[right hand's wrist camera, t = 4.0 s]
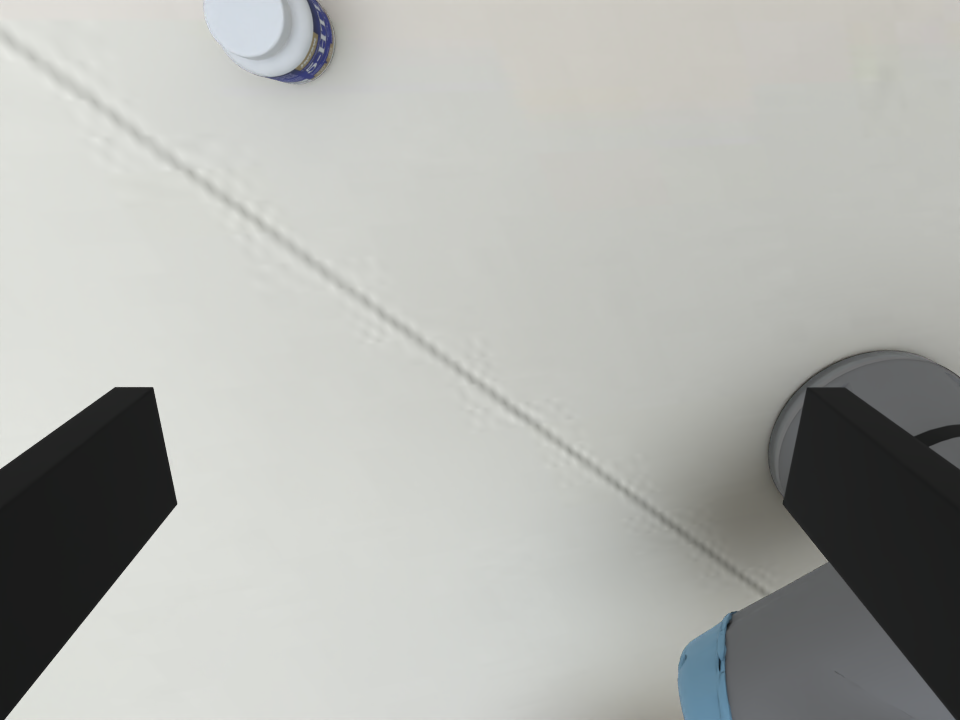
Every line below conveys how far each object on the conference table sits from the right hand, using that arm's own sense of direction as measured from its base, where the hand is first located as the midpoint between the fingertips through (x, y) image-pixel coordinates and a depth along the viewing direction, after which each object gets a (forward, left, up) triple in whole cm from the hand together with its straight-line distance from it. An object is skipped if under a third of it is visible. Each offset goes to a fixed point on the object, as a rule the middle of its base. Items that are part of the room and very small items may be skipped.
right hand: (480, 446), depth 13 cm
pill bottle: (+10, -13, -32) cm, 36 cm away
